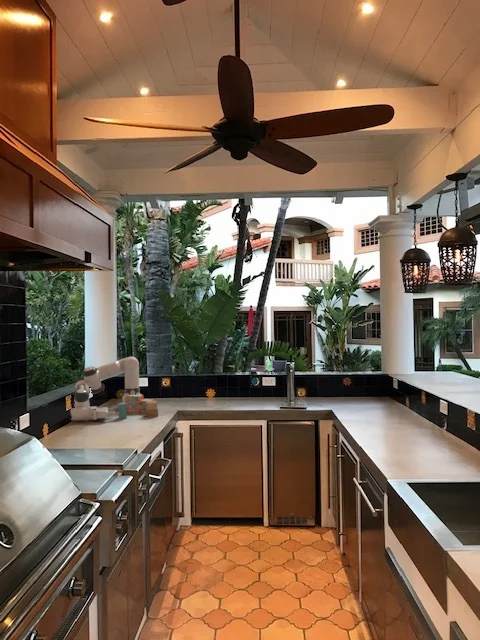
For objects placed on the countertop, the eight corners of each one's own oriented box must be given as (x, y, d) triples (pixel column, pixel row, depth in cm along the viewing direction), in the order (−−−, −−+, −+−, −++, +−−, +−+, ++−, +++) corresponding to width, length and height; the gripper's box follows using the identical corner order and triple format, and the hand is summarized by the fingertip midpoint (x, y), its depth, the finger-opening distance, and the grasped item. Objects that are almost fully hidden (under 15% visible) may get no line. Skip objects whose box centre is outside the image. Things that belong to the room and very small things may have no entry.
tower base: (145, 415, 345) (145, 408, 345) (156, 414, 347) (156, 407, 347) (146, 417, 337) (146, 410, 337) (158, 416, 339) (158, 409, 339)
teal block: (119, 417, 338) (118, 403, 338) (126, 417, 339) (126, 402, 339) (119, 419, 333) (119, 404, 333) (126, 418, 334) (126, 404, 334)
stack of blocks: (154, 412, 357) (154, 395, 357) (150, 413, 351) (149, 396, 351) (130, 410, 365) (129, 394, 365) (125, 412, 359) (124, 395, 359)
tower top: (146, 408, 345) (146, 401, 345) (156, 407, 346) (156, 400, 346) (146, 410, 338) (146, 403, 338) (157, 409, 340) (156, 402, 340)
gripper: (94, 414, 340) (114, 413, 344) (94, 420, 320) (115, 418, 324) (94, 405, 340) (114, 404, 344) (94, 410, 320) (115, 409, 324)
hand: (115, 411), depth 334 cm, fingers open, 8 cm apart
